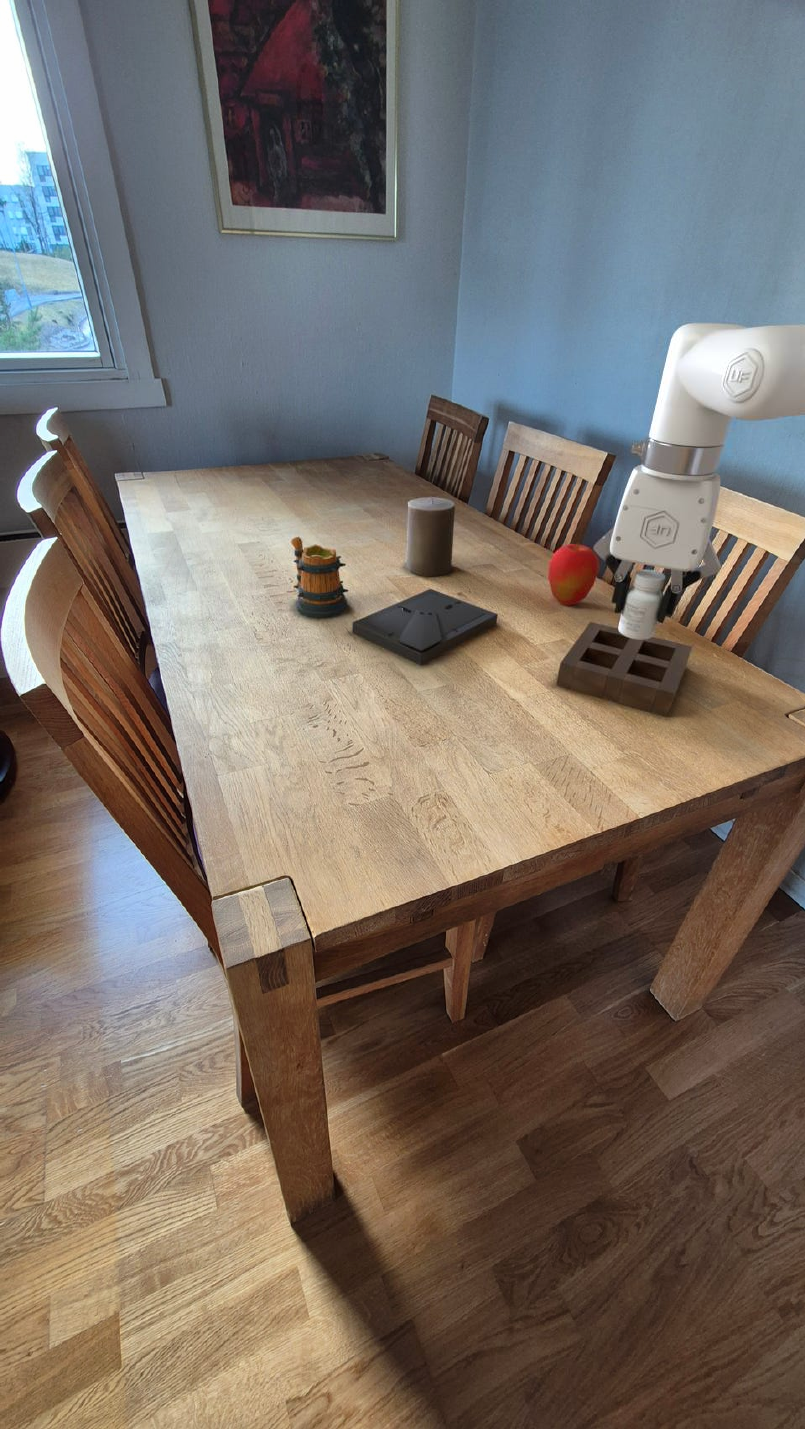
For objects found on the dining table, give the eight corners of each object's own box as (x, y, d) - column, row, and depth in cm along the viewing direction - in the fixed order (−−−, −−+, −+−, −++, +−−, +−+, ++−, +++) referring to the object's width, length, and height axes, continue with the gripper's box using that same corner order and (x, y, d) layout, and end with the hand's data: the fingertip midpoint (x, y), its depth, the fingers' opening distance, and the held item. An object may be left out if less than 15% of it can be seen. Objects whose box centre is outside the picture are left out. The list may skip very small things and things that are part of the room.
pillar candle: (452, 577, 130) (457, 504, 122) (405, 575, 130) (407, 502, 122) (450, 560, 138) (455, 491, 130) (406, 559, 138) (408, 489, 130)
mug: (360, 608, 117) (359, 548, 110) (316, 624, 111) (312, 561, 104) (318, 587, 124) (315, 529, 118) (275, 600, 118) (269, 541, 112)
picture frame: (420, 665, 100) (496, 624, 112) (421, 649, 98) (498, 610, 111) (352, 633, 108) (430, 598, 121) (352, 618, 107) (430, 585, 119)
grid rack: (685, 668, 101) (692, 646, 99) (666, 717, 89) (674, 693, 87) (585, 642, 108) (590, 621, 105) (556, 685, 96) (560, 662, 93)
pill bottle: (643, 624, 81) (658, 566, 77) (660, 639, 77) (677, 580, 73) (611, 625, 80) (625, 568, 76) (627, 641, 77) (642, 582, 72)
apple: (596, 613, 118) (609, 551, 111) (548, 611, 118) (559, 549, 111) (585, 593, 125) (597, 534, 118) (540, 592, 125) (549, 532, 119)
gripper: (593, 455, 68) (565, 610, 78) (765, 476, 61) (709, 642, 72) (609, 443, 73) (581, 589, 83) (768, 462, 67) (716, 618, 77)
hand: (640, 612), depth 77 cm, fingers closed on pill bottle, 4 cm apart
